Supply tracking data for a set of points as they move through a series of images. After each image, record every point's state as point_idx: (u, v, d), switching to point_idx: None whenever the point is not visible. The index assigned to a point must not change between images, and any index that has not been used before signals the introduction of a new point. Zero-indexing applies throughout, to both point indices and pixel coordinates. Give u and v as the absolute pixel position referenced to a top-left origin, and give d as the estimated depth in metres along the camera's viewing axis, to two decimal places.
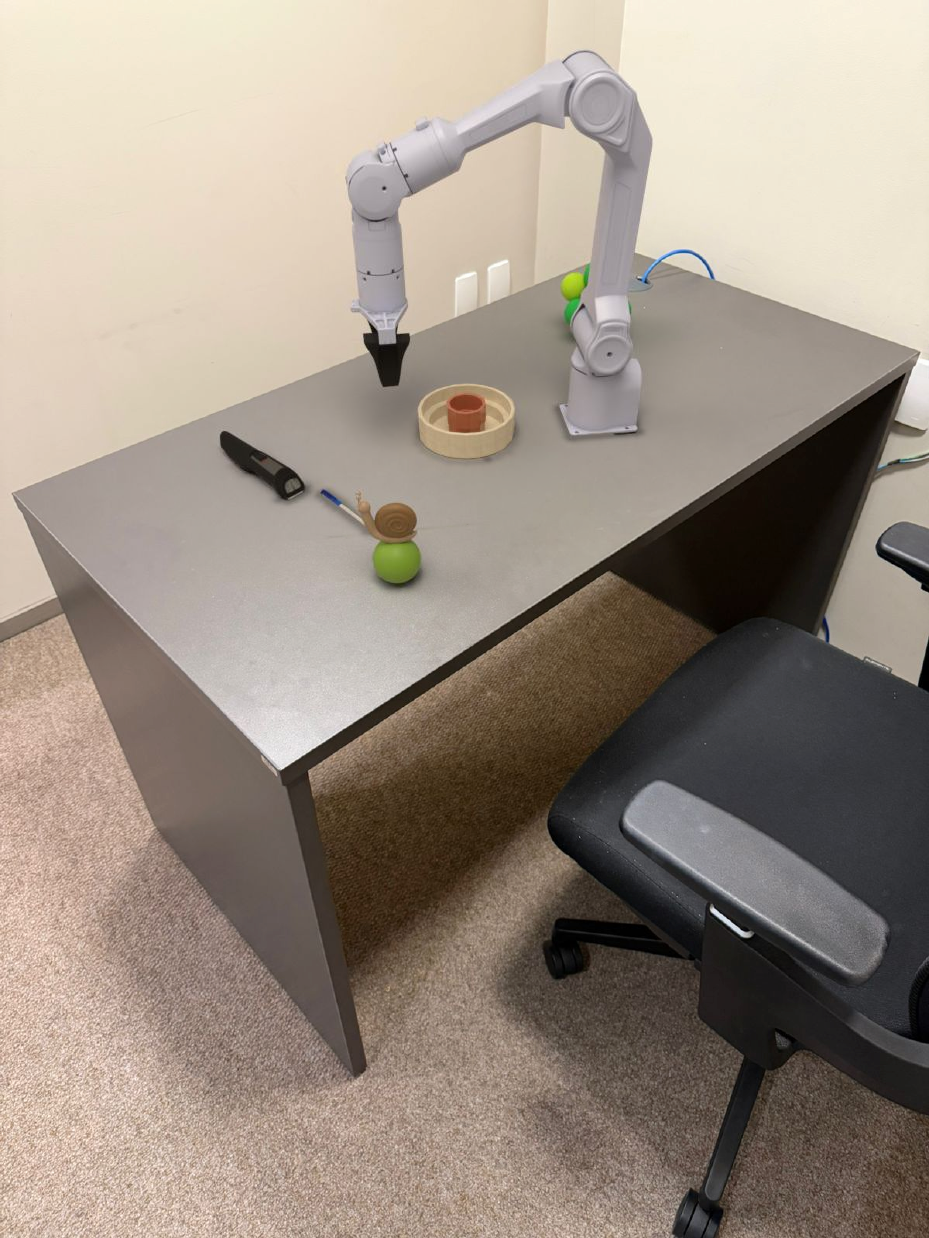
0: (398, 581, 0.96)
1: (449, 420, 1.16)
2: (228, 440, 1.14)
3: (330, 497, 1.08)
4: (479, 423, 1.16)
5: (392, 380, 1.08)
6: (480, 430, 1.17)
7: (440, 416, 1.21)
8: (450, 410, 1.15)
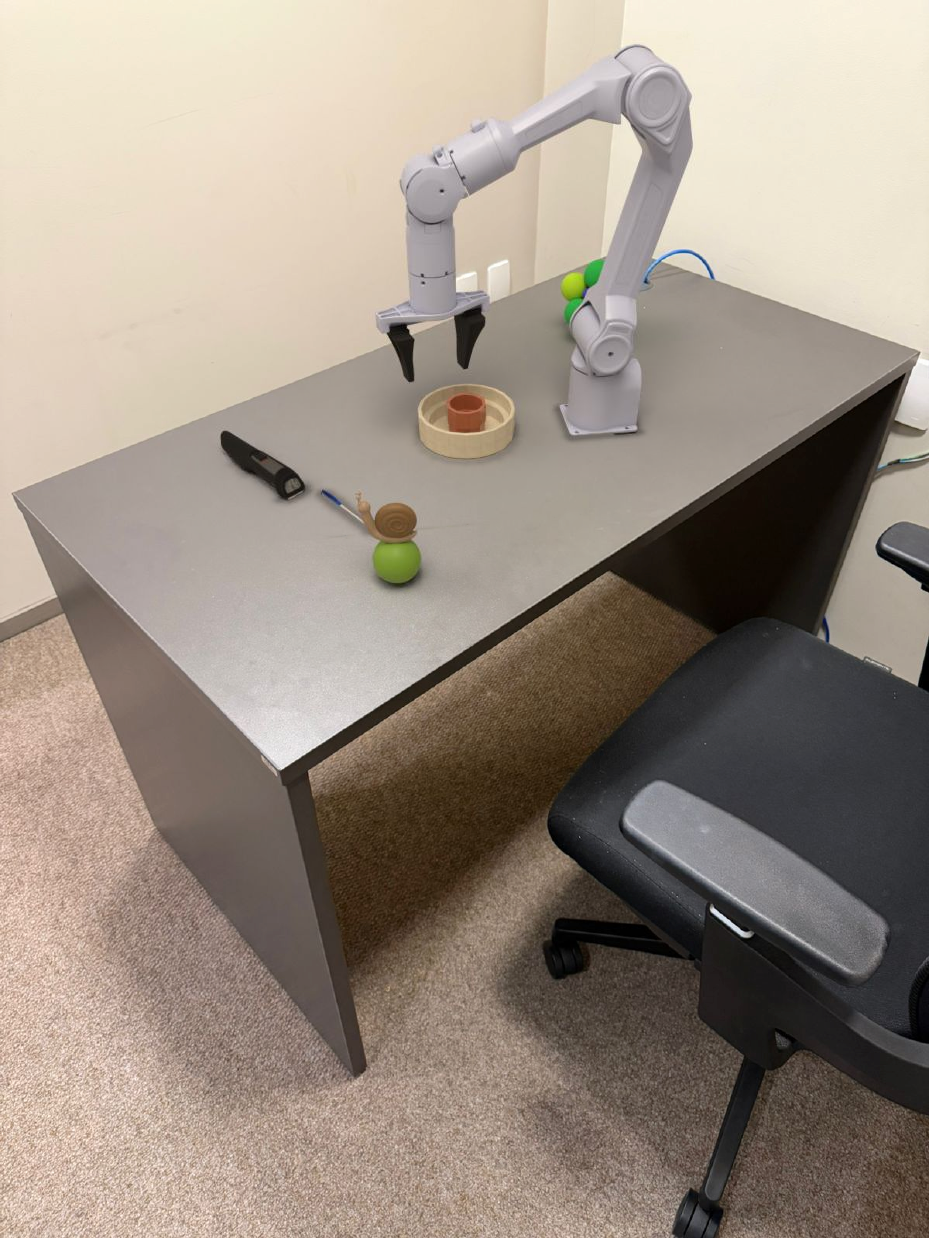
0: (398, 581, 0.96)
1: (449, 420, 1.16)
2: (228, 440, 1.14)
3: (330, 498, 1.08)
4: (479, 423, 1.16)
5: (406, 374, 1.10)
6: (480, 430, 1.17)
7: (440, 416, 1.21)
8: (450, 410, 1.15)
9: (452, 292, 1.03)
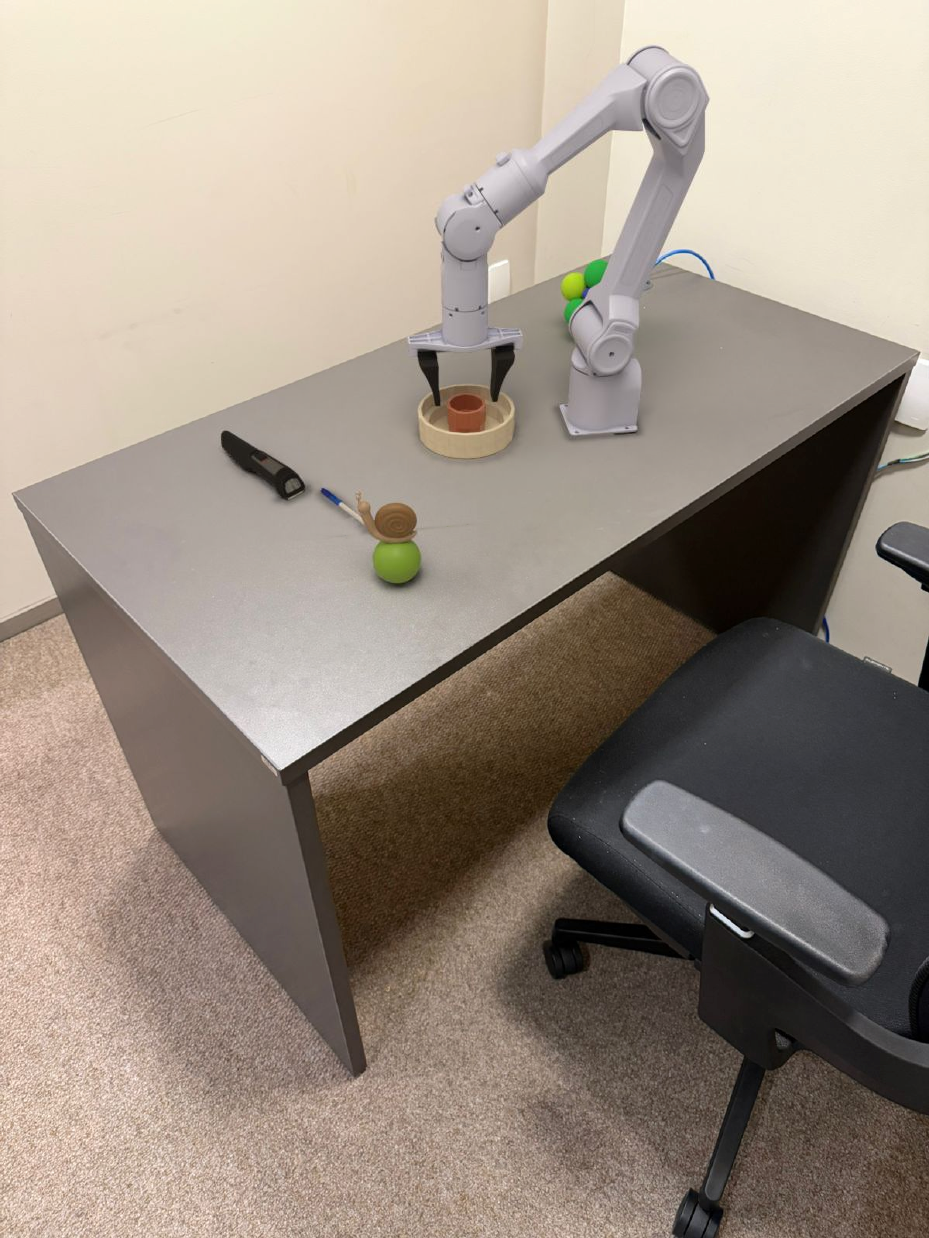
0: (398, 581, 0.96)
1: (449, 420, 1.16)
2: (229, 440, 1.14)
3: (330, 495, 1.08)
4: (479, 423, 1.16)
5: None
6: (480, 430, 1.17)
7: (440, 416, 1.21)
8: (450, 410, 1.15)
9: (480, 327, 1.06)
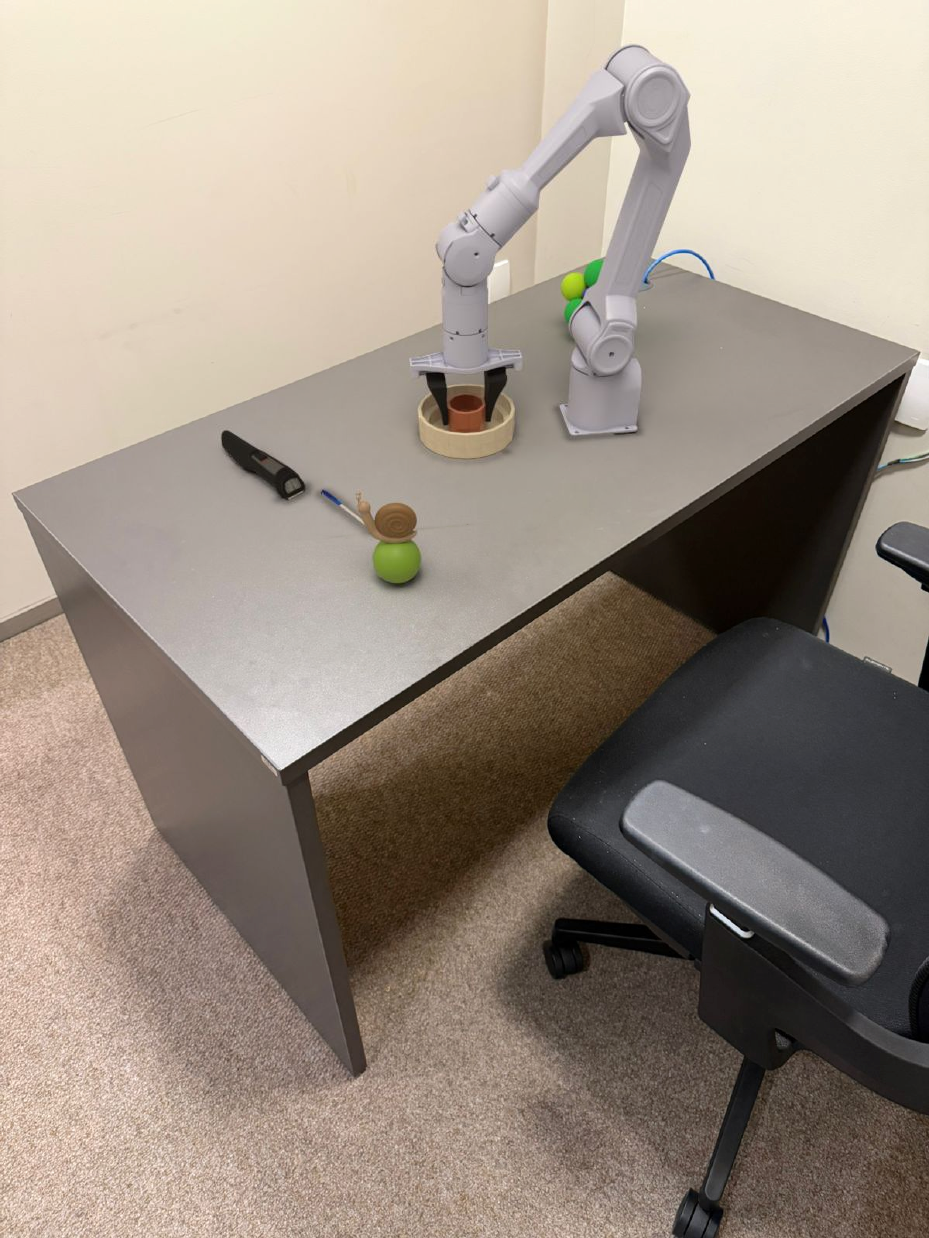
0: (398, 581, 0.96)
1: (449, 420, 1.16)
2: (229, 440, 1.14)
3: (330, 497, 1.08)
4: (479, 423, 1.16)
5: None
6: (480, 430, 1.17)
7: (440, 416, 1.21)
8: (450, 410, 1.15)
9: (480, 350, 1.08)
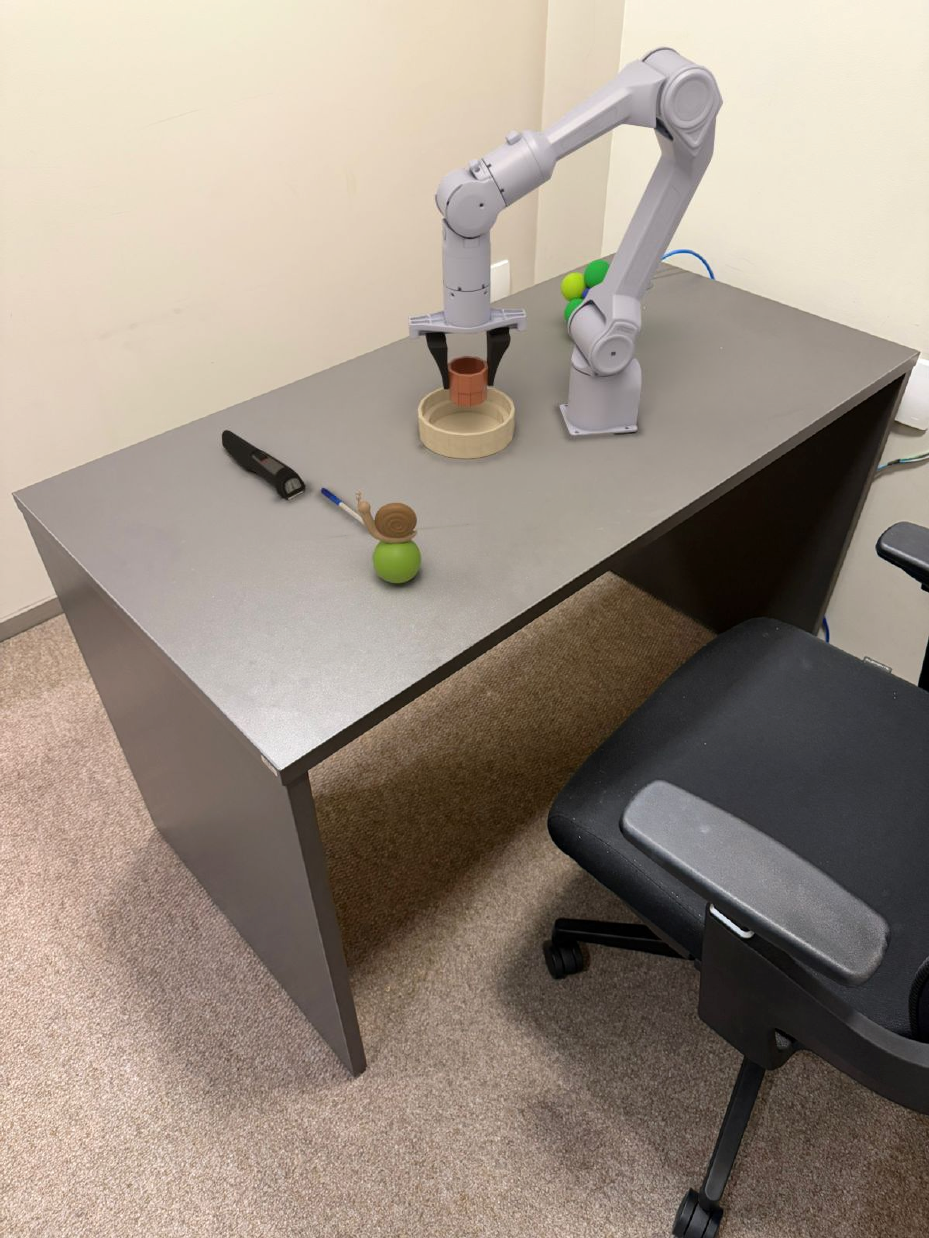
0: (398, 581, 0.96)
1: (450, 384, 1.11)
2: (229, 439, 1.14)
3: (330, 495, 1.08)
4: (481, 387, 1.11)
5: None
6: (482, 394, 1.12)
7: (440, 416, 1.21)
8: (451, 373, 1.10)
9: (482, 308, 1.03)
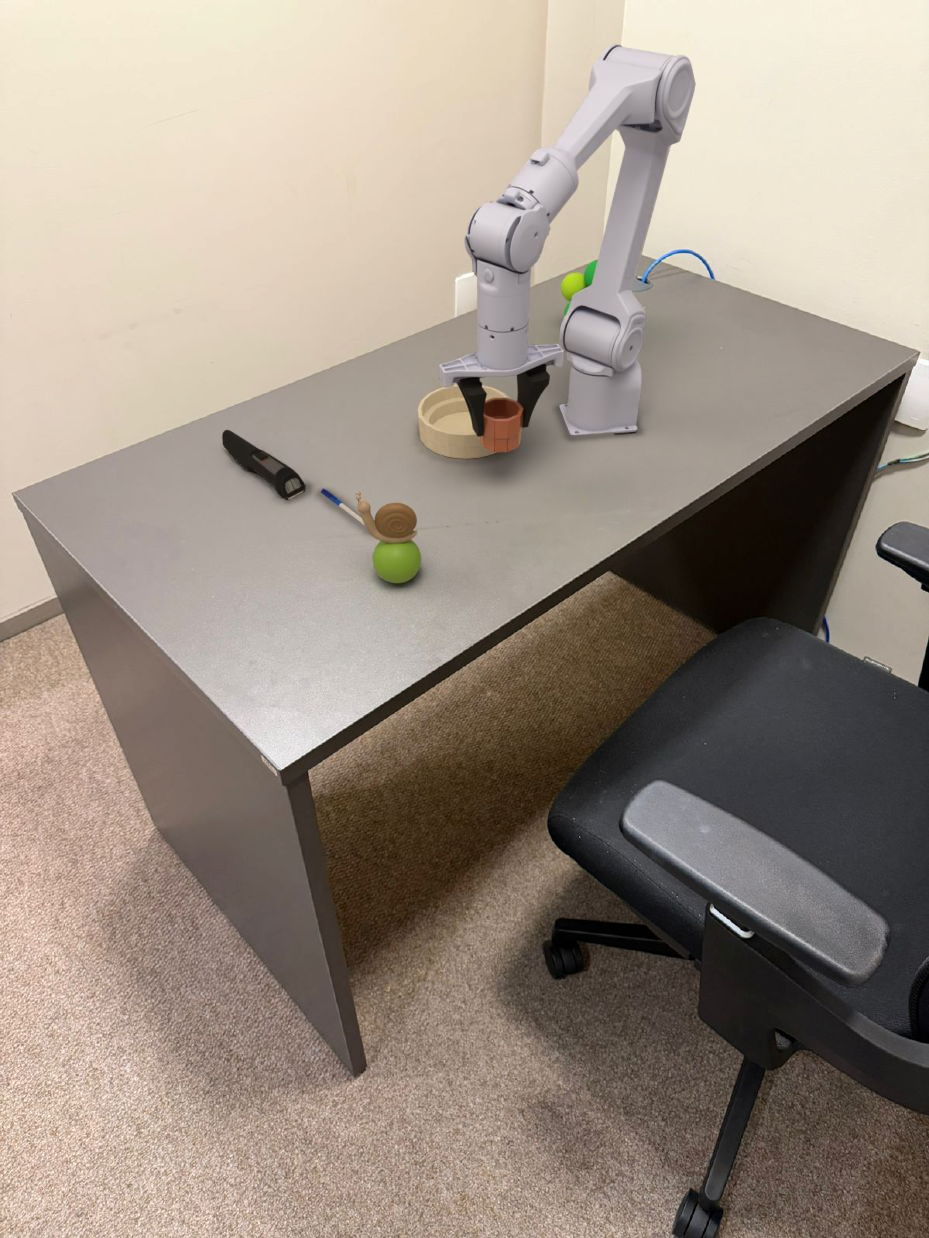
0: (398, 581, 0.96)
1: (484, 430, 1.02)
2: (230, 439, 1.14)
3: (330, 496, 1.08)
4: (518, 430, 1.03)
5: (475, 427, 1.03)
6: (518, 437, 1.04)
7: (440, 416, 1.21)
8: (486, 419, 1.01)
9: (523, 347, 0.95)
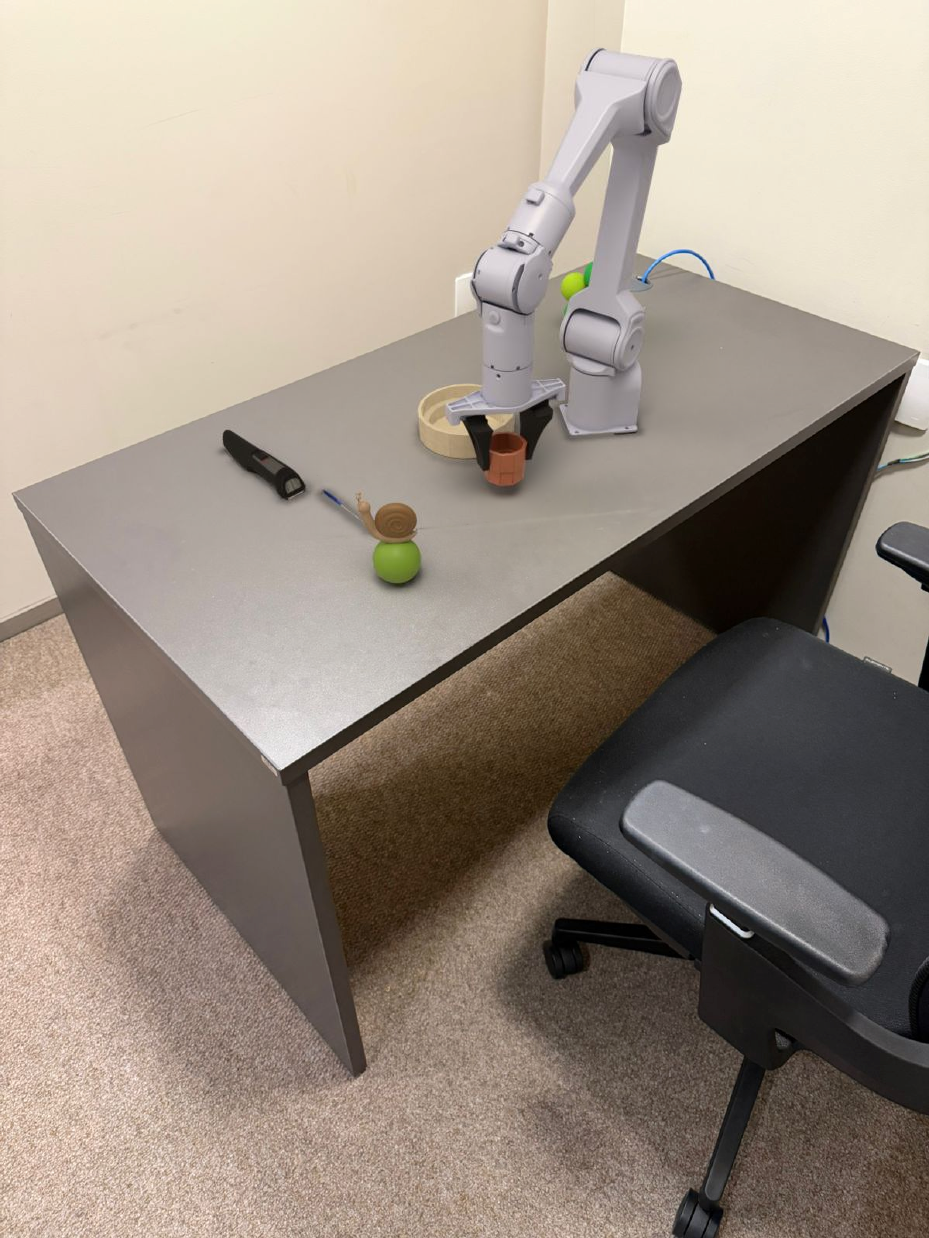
0: (398, 581, 0.96)
1: (490, 464, 1.04)
2: (230, 439, 1.14)
3: (331, 498, 1.08)
4: (522, 463, 1.05)
5: (480, 462, 1.04)
6: (523, 470, 1.06)
7: (440, 416, 1.21)
8: (492, 454, 1.03)
9: (528, 384, 0.97)
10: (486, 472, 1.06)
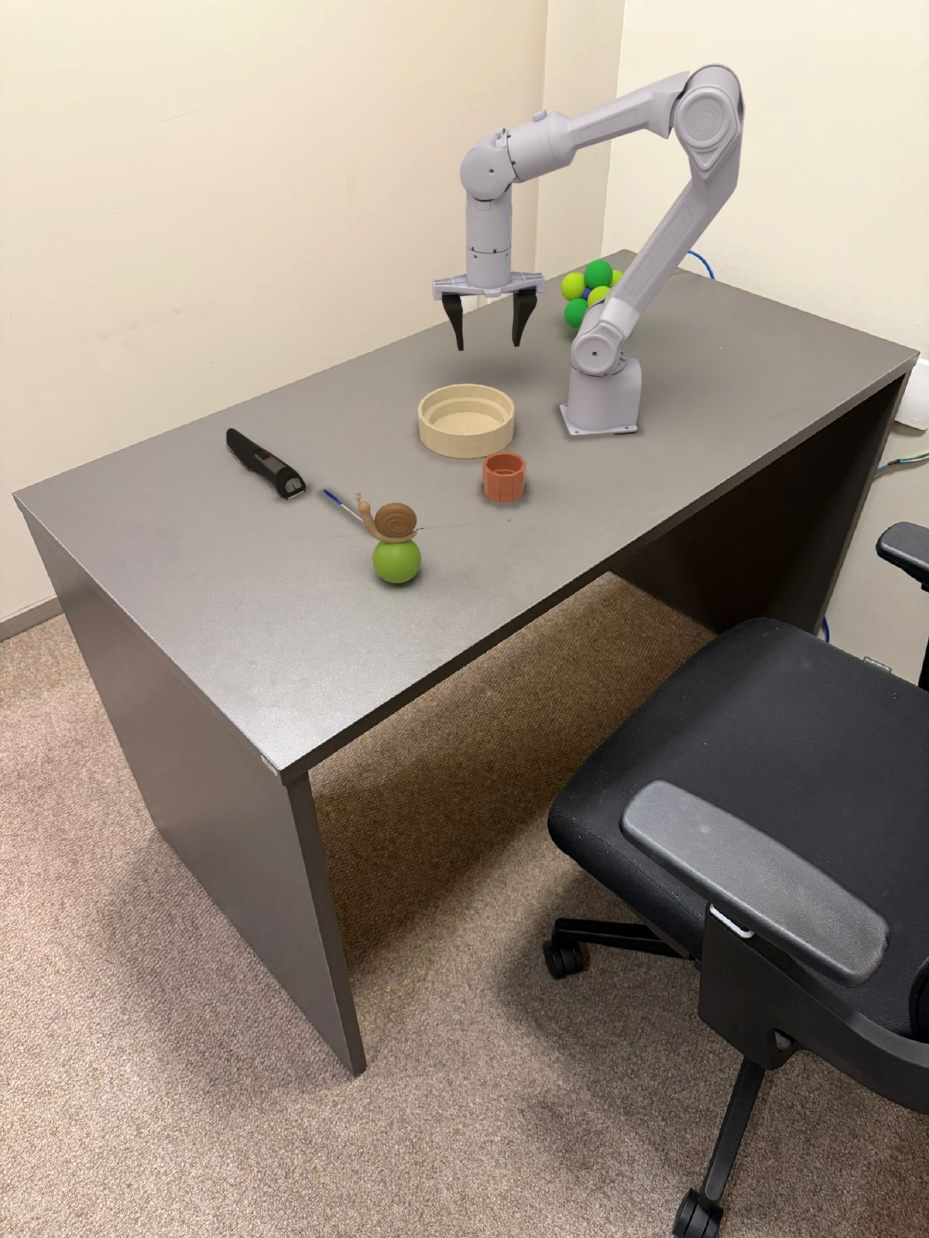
0: (398, 581, 0.96)
1: (489, 485, 1.06)
2: (233, 438, 1.15)
3: (331, 497, 1.08)
4: (521, 483, 1.07)
5: None
6: (522, 490, 1.08)
7: (440, 416, 1.21)
8: (491, 474, 1.05)
9: None
10: (486, 492, 1.08)
